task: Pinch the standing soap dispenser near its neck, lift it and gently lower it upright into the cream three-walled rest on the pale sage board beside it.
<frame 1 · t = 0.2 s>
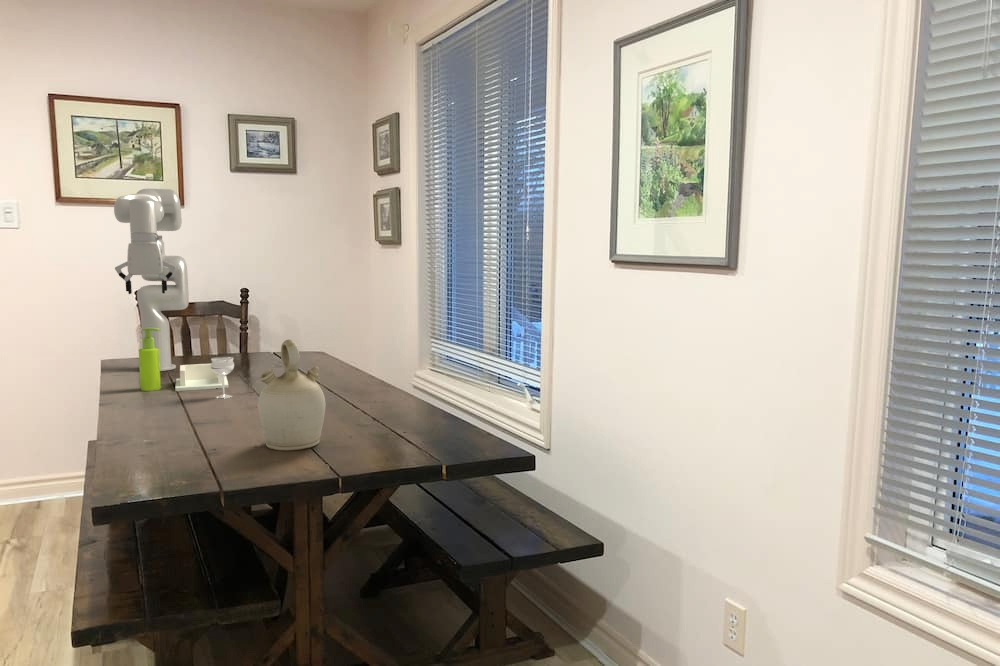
hand: (146, 293, 236), 31 cm above the table, fingers open, 9 cm apart
u rest: (201, 384, 250), on the table
wineglass: (223, 397, 230), on the table
soap dispenser: (152, 389, 242), on the table
jug: (293, 445, 176), on the table
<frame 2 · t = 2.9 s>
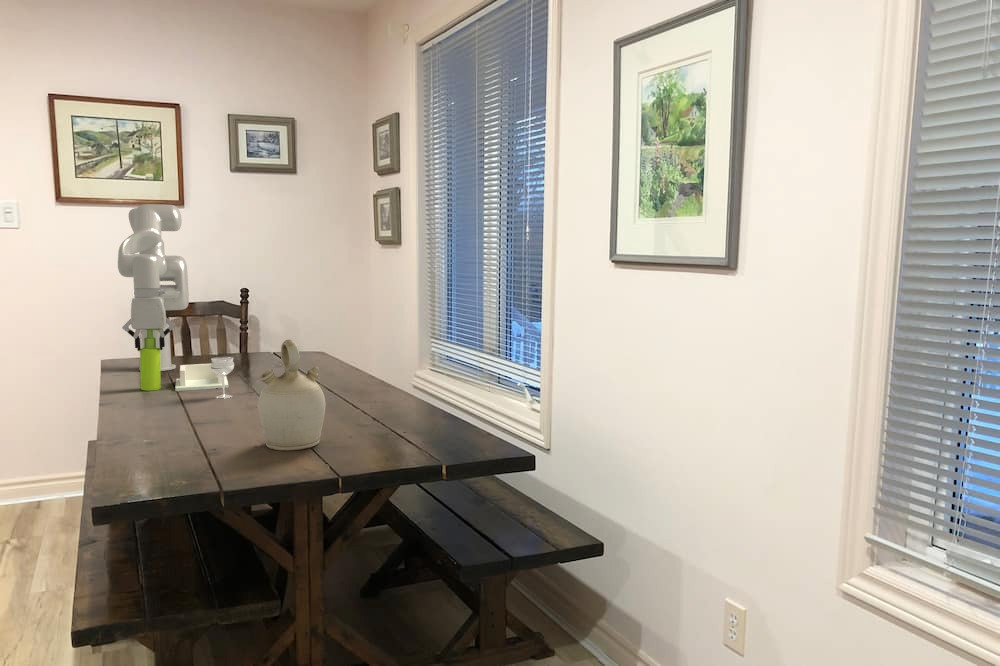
hand: (150, 349, 240), 13 cm above the table, fingers closed on soap dispenser, 5 cm apart
soap dispenser: (152, 389, 242), on the table, touching gripper
everything else where it was.
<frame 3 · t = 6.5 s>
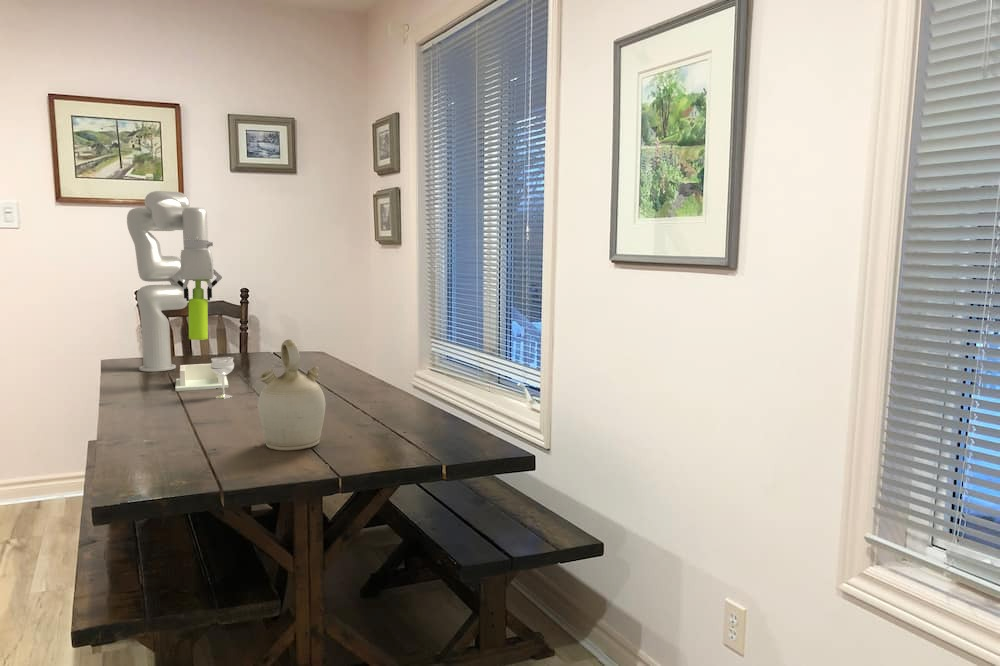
hand: (198, 299, 247), 28 cm above the table, fingers closed on soap dispenser, 5 cm apart
soap dispenser: (199, 339, 249), point 15 cm above the table, touching gripper
everything else where it was.
when the fingers open (15 cm above the table, at t = 10.2 s): soap dispenser drops 1 cm, resting on u rest.
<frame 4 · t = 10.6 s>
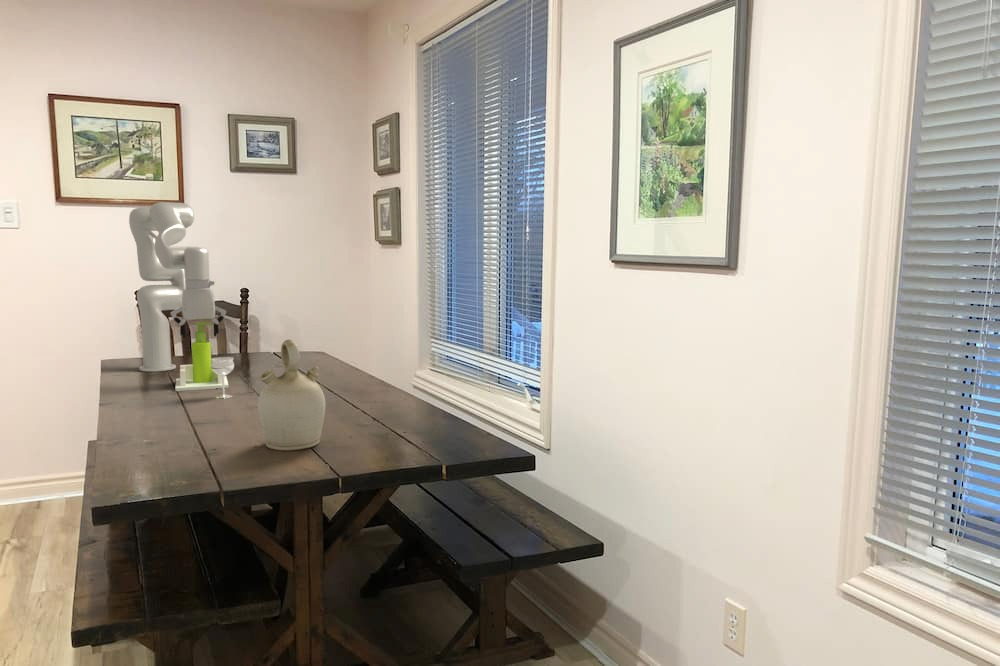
hand: (199, 336, 248), 16 cm above the table, fingers open, 9 cm apart
soap dispenser: (204, 381, 251), point 1 cm above the table, touching u rest
everything else where it was.
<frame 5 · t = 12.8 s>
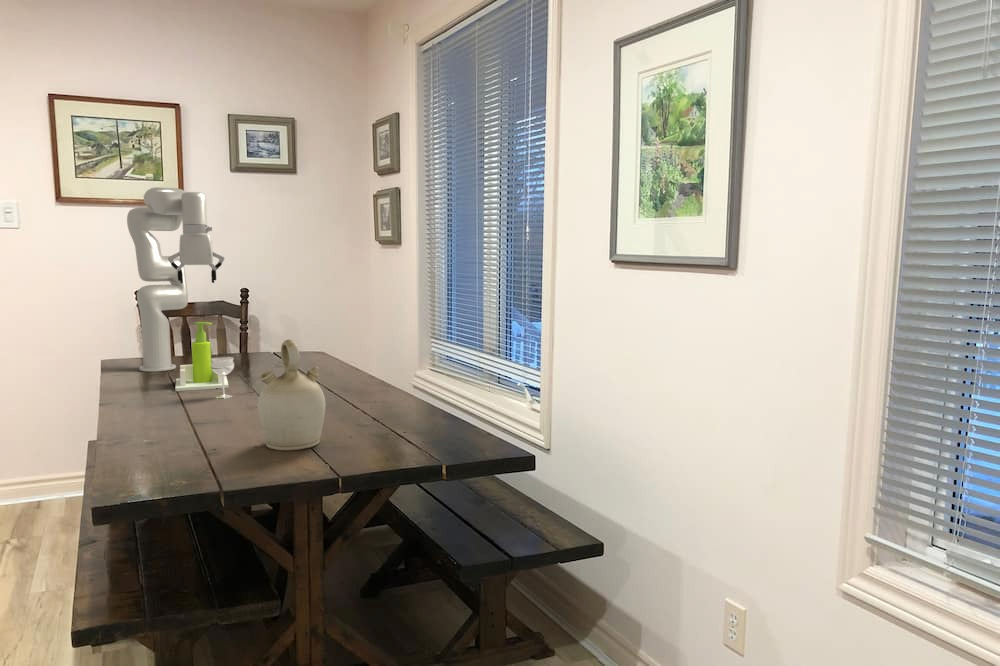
hand: (197, 282, 246), 34 cm above the table, fingers open, 9 cm apart
nothing on the table moved.
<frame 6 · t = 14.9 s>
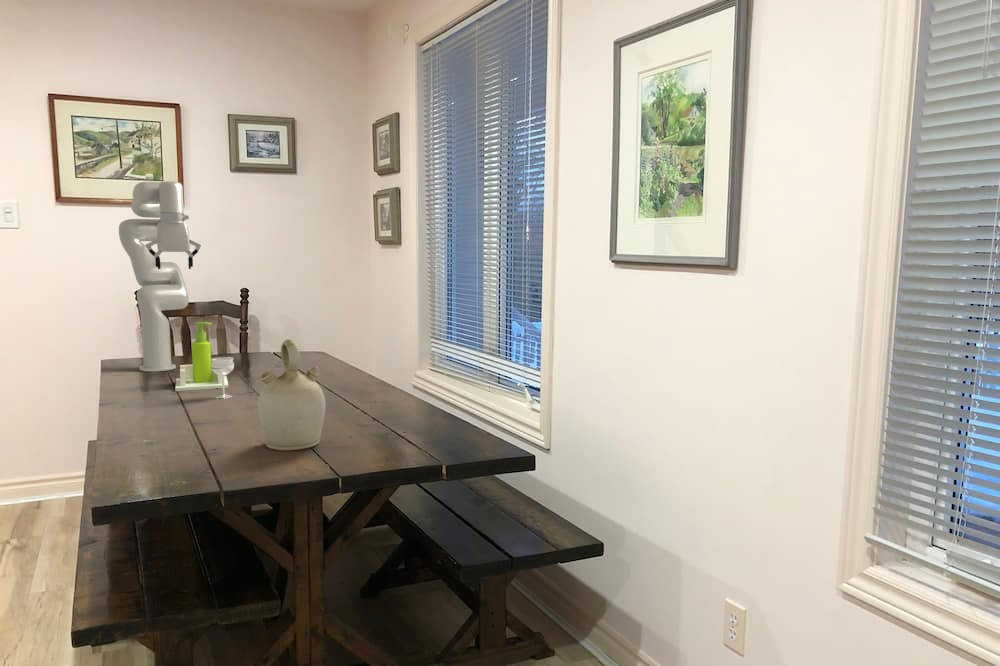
hand: (174, 269, 256), 38 cm above the table, fingers open, 9 cm apart
nothing on the table moved.
at the end: soap dispenser 0.9 cm off-centre on the u rest, point 0.8 cm above the u rest's base; soap dispenser tilted 0°; the gripper is holding nothing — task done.
